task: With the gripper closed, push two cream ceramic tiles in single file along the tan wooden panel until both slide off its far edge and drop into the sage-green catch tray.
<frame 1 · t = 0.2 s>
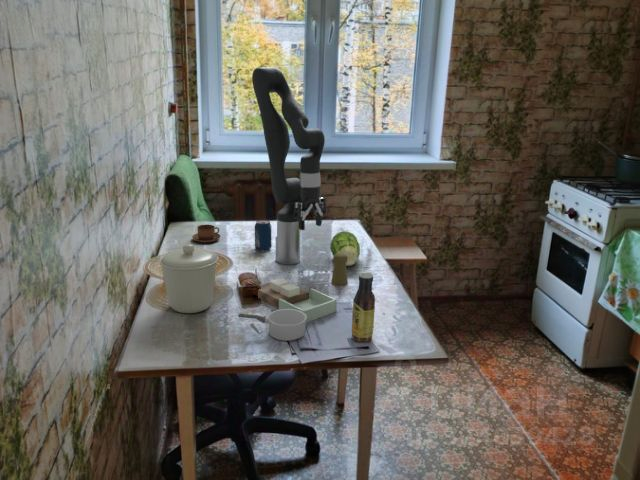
hand: (310, 227, 212), 17 cm above the table, tool pointing down, fingers open, 8 cm apart
cup and saucer: (206, 240, 250), on the table
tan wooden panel: (281, 297, 193), on the table
catch tray: (307, 311, 183), on the table
saucepan: (272, 334, 168), on the table
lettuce: (345, 264, 226), on the table
sauce bottle: (361, 339, 166), on the table
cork: (339, 283, 207), on the table
canister: (191, 307, 184), on the table
tile 2: (289, 293, 189), point 3 cm above the table, touching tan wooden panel
tile 1: (279, 288, 192), point 3 cm above the table, touching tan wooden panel
soda can: (263, 249, 241), on the table
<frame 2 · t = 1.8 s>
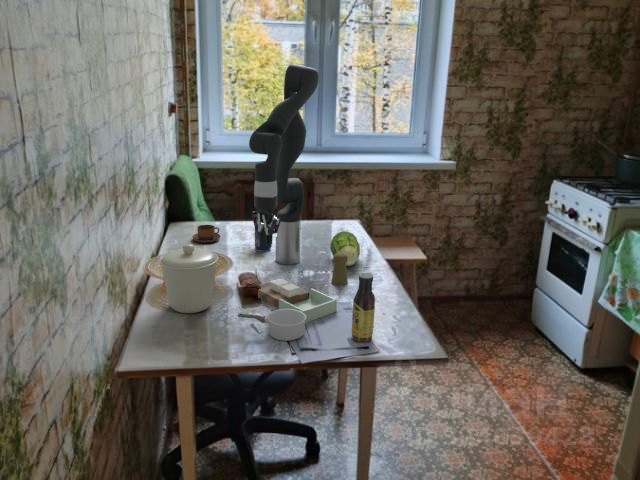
hand: (265, 243, 193), 17 cm above the table, tool pointing down, fingers open, 3 cm apart
nothing on the table moved.
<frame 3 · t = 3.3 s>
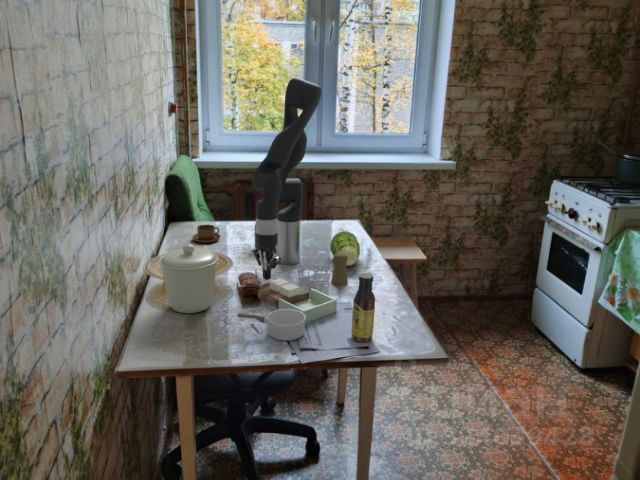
hand: (266, 278, 197), 4 cm above the table, tool pointing down, fingers closed
nothing on the table moved.
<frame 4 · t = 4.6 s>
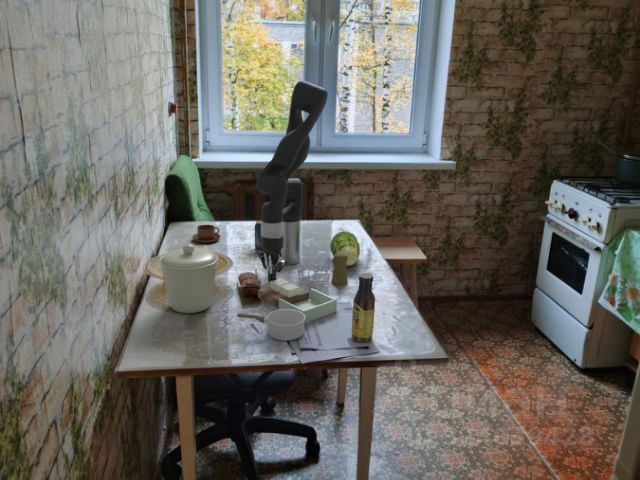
hand: (272, 282, 194), 4 cm above the table, tool pointing down, fingers closed
tile 1: (279, 288, 192), point 3 cm above the table, touching gripper
everything else where it was.
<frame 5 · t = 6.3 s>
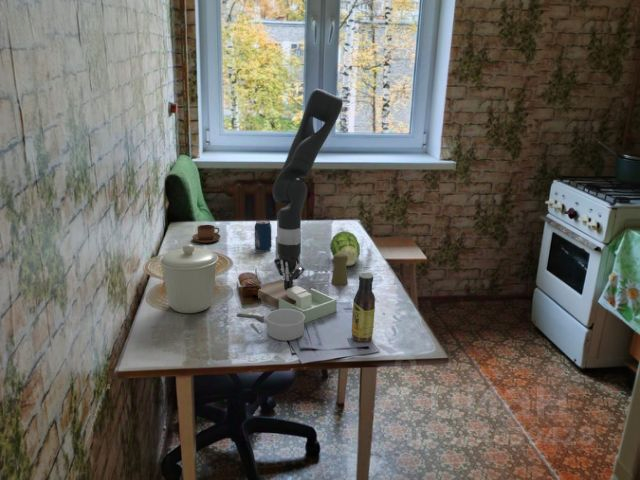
hand: (288, 290, 188), 4 cm above the table, tool pointing down, fingers closed
tile 2: (301, 299, 184), point 3 cm above the table, tilted 90°, touching catch tray
tile 1: (296, 296, 186), point 3 cm above the table, touching gripper, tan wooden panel
everything else where it was.
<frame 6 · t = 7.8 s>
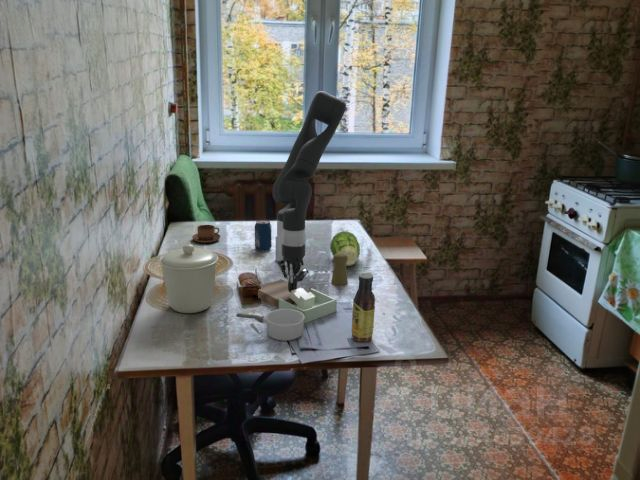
hand: (292, 291, 187), 4 cm above the table, tool pointing down, fingers closed
tile 2: (303, 299, 183), point 4 cm above the table, tilted 108°, touching catch tray, tile 1
tile 1: (298, 299, 186), point 3 cm above the table, tilted 18°, touching tile 2, gripper, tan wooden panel
everything else where it was.
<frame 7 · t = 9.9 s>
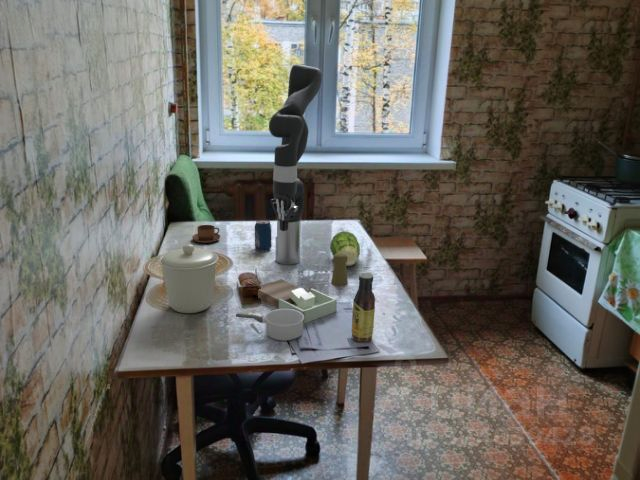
hand: (283, 230, 188), 23 cm above the table, tool pointing down, fingers closed
tile 1: (298, 299, 186), point 3 cm above the table, tilted 18°, touching tile 2, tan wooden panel
everything else where it was.
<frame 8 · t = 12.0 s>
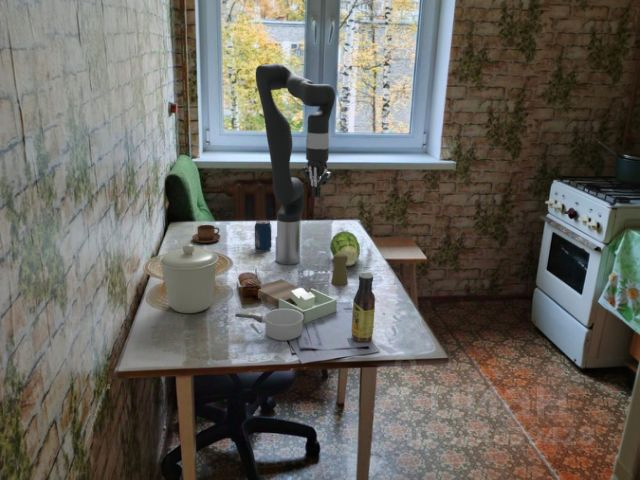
hand: (316, 196, 196), 32 cm above the table, tool pointing down, fingers closed
nothing on the table moved.
at the end: tile 1 inside the target area (5.6 cm from its centre), point 2.5 cm above the table; tile 2 inside the target area (2.9 cm from its centre), point 3.5 cm above the table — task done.
